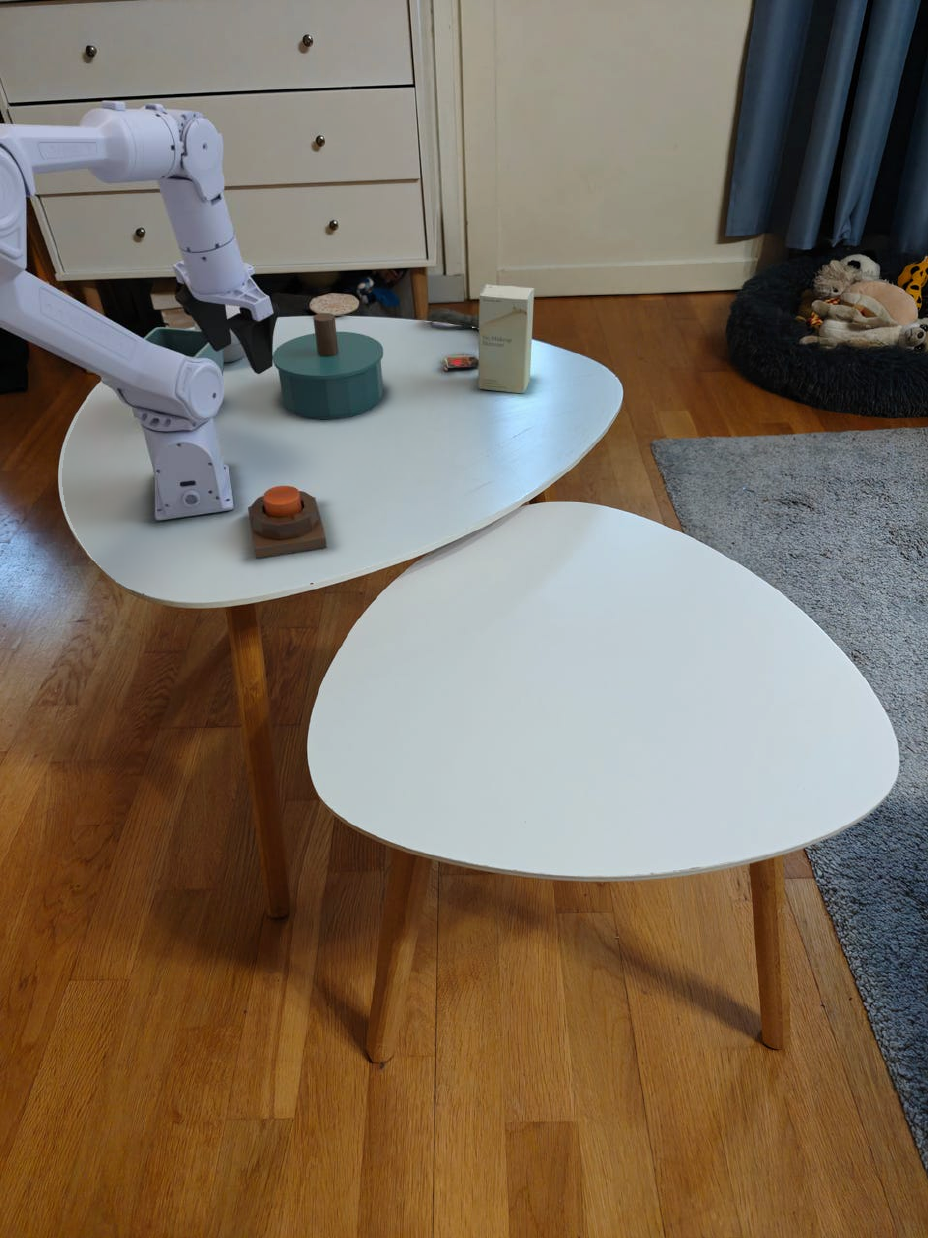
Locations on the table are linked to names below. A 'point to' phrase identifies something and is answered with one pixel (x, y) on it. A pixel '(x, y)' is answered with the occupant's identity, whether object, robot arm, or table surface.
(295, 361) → the tin lid
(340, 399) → the tin
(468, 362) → the matchbox
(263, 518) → the button block
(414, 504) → the table surface
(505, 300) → the cosmetic box
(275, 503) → the button
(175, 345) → the flower pot
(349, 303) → the flatbread
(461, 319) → the toy
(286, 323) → the table surface
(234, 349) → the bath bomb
